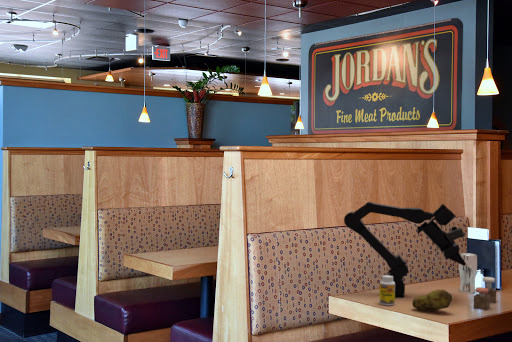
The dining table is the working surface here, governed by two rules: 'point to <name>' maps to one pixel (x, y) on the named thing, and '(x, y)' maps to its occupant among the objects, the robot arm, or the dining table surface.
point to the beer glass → (468, 273)
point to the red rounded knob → (482, 291)
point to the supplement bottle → (387, 290)
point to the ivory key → (488, 282)
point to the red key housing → (482, 302)
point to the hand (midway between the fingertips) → (465, 264)
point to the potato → (433, 301)
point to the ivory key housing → (492, 295)
